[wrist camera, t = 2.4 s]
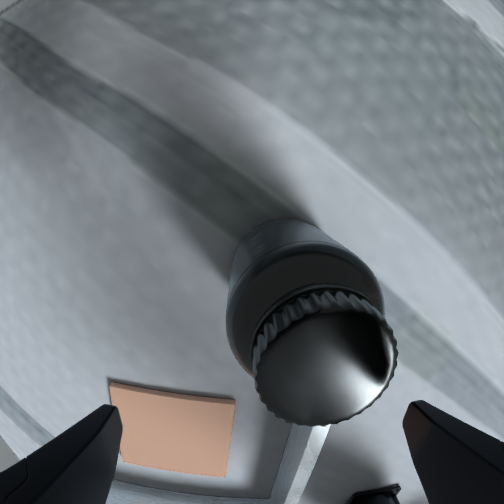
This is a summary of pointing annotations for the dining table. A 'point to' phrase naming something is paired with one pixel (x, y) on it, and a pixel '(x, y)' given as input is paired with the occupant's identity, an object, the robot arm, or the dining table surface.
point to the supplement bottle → (308, 324)
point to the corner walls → (281, 499)
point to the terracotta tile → (174, 430)
